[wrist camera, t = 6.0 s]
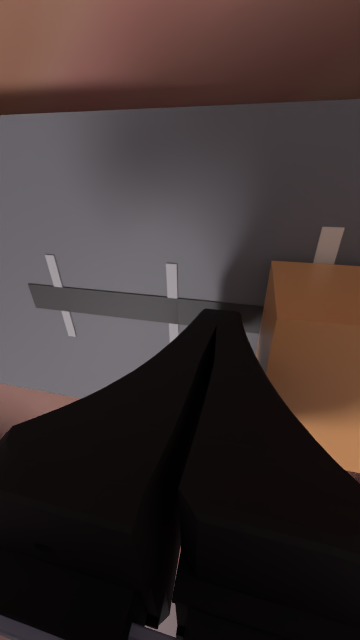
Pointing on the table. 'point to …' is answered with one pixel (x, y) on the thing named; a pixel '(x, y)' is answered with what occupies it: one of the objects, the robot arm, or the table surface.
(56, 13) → the table surface
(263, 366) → the fader knob
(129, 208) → the fader panel
